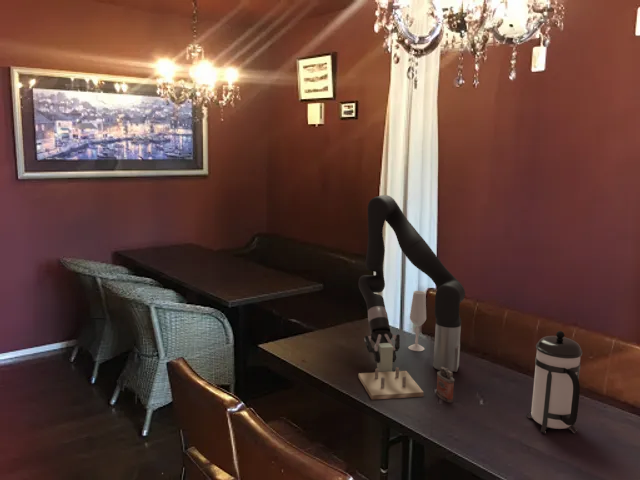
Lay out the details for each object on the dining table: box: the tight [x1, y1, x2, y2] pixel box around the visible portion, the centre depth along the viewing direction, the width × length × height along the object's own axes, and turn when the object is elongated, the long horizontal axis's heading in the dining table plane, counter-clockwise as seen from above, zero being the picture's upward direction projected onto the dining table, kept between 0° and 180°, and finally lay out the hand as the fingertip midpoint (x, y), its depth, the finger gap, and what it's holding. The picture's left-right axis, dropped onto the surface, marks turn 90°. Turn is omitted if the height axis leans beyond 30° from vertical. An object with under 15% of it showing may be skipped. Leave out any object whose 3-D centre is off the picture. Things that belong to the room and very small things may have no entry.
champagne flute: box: [407, 290, 427, 352], centre depth 232 cm, size 7×7×24 cm
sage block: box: [376, 343, 394, 372], centre depth 210 cm, size 4×4×10 cm
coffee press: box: [526, 330, 583, 434], centre depth 168 cm, size 17×16×30 cm
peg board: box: [357, 366, 424, 400], centre depth 196 cm, size 18×18×5 cm
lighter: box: [435, 367, 456, 403], centre depth 189 cm, size 8×3×10 cm, turn 21°
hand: (386, 361), depth 208 cm, fingers open, 5 cm apart
